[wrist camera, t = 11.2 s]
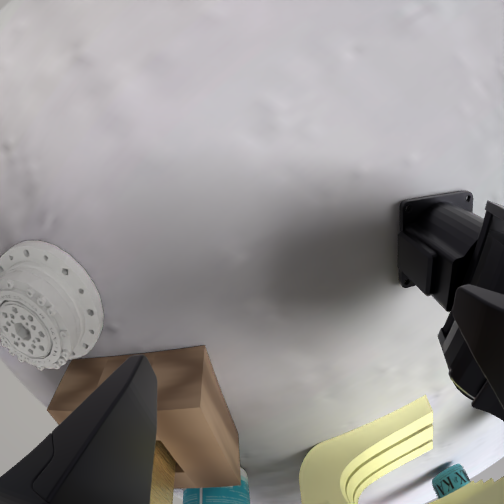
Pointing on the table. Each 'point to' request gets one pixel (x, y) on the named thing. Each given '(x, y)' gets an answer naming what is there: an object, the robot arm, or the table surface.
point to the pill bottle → (219, 493)
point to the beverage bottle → (450, 480)
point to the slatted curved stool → (380, 460)
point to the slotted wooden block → (171, 412)
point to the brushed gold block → (162, 475)
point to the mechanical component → (47, 305)
